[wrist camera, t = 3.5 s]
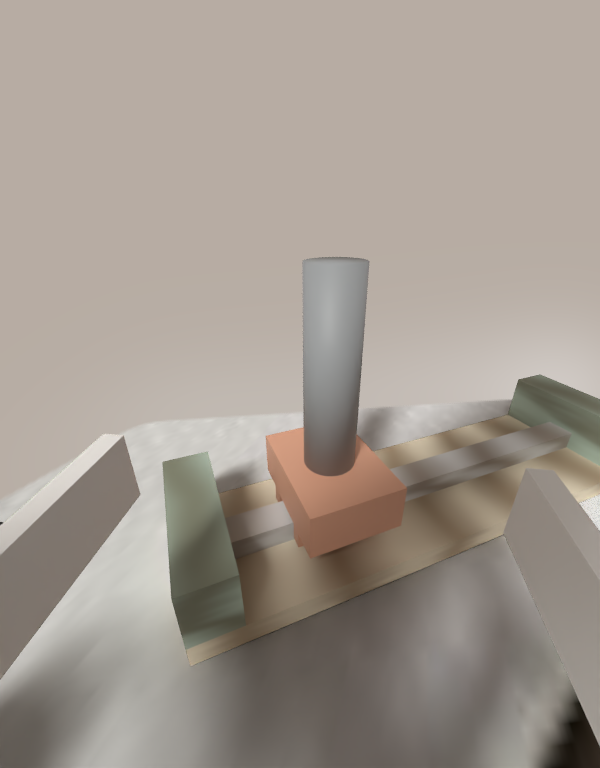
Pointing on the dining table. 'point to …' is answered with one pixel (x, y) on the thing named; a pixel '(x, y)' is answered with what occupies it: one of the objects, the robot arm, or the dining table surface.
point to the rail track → (379, 552)
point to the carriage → (333, 422)
